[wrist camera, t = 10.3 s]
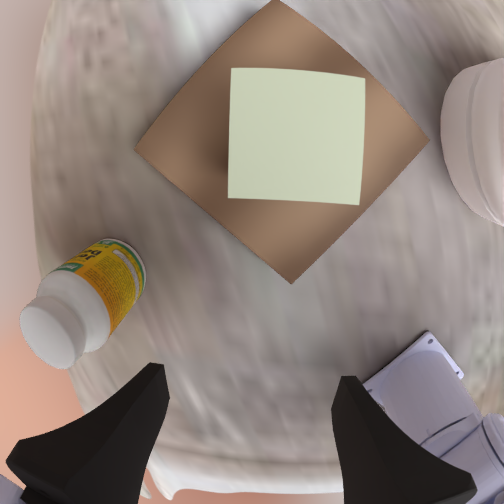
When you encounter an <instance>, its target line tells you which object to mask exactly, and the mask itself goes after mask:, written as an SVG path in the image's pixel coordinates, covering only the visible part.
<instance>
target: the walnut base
mask: <svg viewBox="0 0 504 504" xmlns="http://www.w3.org/2000/svg"><path fill="white" fill-rule="evenodd" d="M231 68H274V69H292V70H305V71H315V72H325V73H333V74H340V75H347V76H354V77H360V78H365V129H364V151H363V166H362V180H361V191H360V202H359V205H350V204H337V203H323V202H308V201H290V200H269V199H243V198H228V161H229V119H230V88H231ZM429 141H430V140H429V139H428V137H427V136H426V135H425V133H424V132H423V131H422V130H421V128H420V127H419V126H418V125H417V124H416V122H415V121H414V120H413V119H412V118H411V116H410V115H409V114H408V113H407V112H406V111H405V109H404V108H403V107H402V106H401V105H400V104H399V103H398V102H397V101H396V99H395V98H394V97H393V96H392V95H391V94H390V93H389V92H388V91H387V90H386V89H385V88H384V87H383V86H382V85H381V84H380V83H379V82H378V81H377V80H376V79H375V78H374V77H373V76H372V75H371V74H370V73H369V72H368V71H367V70H366V69H365V68H364V67H363V66H362V65H361V64H360V63H359V62H358V61H357V60H356V59H354V58H353V57H352V56H351V55H350V54H349V53H348V52H347V51H345V50H344V49H343V48H342V47H341V46H340V45H339V44H337V43H336V42H335V41H334V40H333V39H331V38H330V37H329V36H328V35H326V34H325V33H324V32H323V31H321V30H320V29H319V28H318V27H316V26H315V25H314V24H312V23H311V22H310V21H308V20H307V19H306V18H304V17H303V16H302V15H300V14H299V13H297V12H296V11H294V10H293V9H292V8H290V7H289V6H287V5H286V4H284V3H283V2H281V1H280V0H271V1H270V2H269V3H268V4H266V5H265V6H264V7H263V8H262V9H260V10H259V11H258V12H257V13H256V14H255V15H253V16H252V17H251V18H250V19H249V20H248V21H247V22H246V23H244V24H243V25H242V26H241V27H240V28H239V29H238V30H237V31H236V32H235V33H234V34H233V35H232V36H231V37H230V38H228V39H227V40H226V41H225V42H224V43H223V44H222V45H221V46H220V47H219V48H218V49H217V50H216V51H215V52H214V53H213V54H212V55H211V56H210V57H209V59H208V60H207V61H206V62H205V63H204V64H203V65H202V66H201V67H200V68H199V69H198V70H197V71H196V72H195V74H194V75H193V76H192V77H191V78H190V79H189V80H188V81H187V82H186V84H185V85H184V86H183V87H182V88H181V89H180V91H179V92H178V93H177V94H176V95H175V96H174V98H173V99H172V100H171V101H170V102H169V104H168V105H167V106H166V107H165V109H164V110H163V111H162V112H161V114H160V115H159V116H158V117H157V119H156V120H155V121H154V123H153V124H152V125H151V126H150V128H149V129H148V130H147V132H146V133H145V134H144V136H143V137H142V138H141V140H140V141H139V143H138V144H137V145H136V147H135V148H134V151H136V152H137V153H138V154H139V155H140V156H142V157H143V158H144V159H145V160H146V161H147V162H149V163H150V164H151V165H152V166H153V167H154V168H156V169H157V170H158V171H159V172H160V173H161V174H163V175H164V176H165V177H166V178H167V179H168V180H170V181H171V182H172V183H173V184H174V185H175V186H177V187H178V188H179V189H180V190H181V191H182V192H184V193H185V194H186V195H187V196H188V197H190V198H191V199H192V200H193V201H194V202H195V203H197V204H198V205H199V206H200V207H201V208H202V209H204V210H205V211H206V212H207V213H208V214H209V215H211V216H212V217H213V218H214V219H215V220H216V221H218V222H219V223H220V224H221V225H222V226H223V227H225V228H226V229H227V230H228V231H229V232H230V233H232V234H233V235H234V236H235V237H236V238H237V239H239V240H240V241H241V242H242V243H243V244H245V245H246V246H247V247H248V248H249V249H250V250H252V251H253V252H254V253H255V254H256V255H257V256H259V257H260V258H261V259H262V260H263V261H264V262H266V263H267V264H268V265H269V266H270V267H271V268H273V269H274V270H275V271H276V272H277V273H278V274H280V275H281V276H282V277H283V278H284V279H285V280H287V281H288V282H289V283H290V284H292V283H293V282H294V281H295V280H296V279H297V278H298V277H300V276H301V275H302V274H303V273H304V272H305V271H306V270H307V269H308V268H309V267H310V266H311V265H312V264H313V263H314V262H315V261H316V260H317V259H318V258H319V257H320V256H321V255H322V254H323V253H324V252H325V251H326V250H327V249H328V248H329V247H330V246H331V245H332V244H333V243H334V242H335V241H336V240H337V239H338V238H339V237H340V236H341V235H342V234H343V233H344V232H345V231H346V230H347V229H348V228H349V227H350V226H351V225H352V224H353V223H354V222H355V221H356V220H357V219H358V218H359V217H360V216H361V215H362V214H363V213H364V212H365V210H366V209H367V208H368V207H369V206H370V205H371V204H372V203H373V202H374V201H375V200H376V199H377V198H378V197H379V196H380V195H381V194H382V193H383V191H384V190H385V189H386V188H387V187H388V186H389V185H390V184H391V183H392V182H393V181H394V180H395V179H396V177H397V176H398V175H399V174H400V173H401V172H402V171H403V170H404V169H405V168H406V167H407V165H408V164H409V163H410V162H411V161H412V160H413V159H414V158H415V157H416V155H417V154H418V153H419V152H420V151H421V150H422V149H423V148H424V146H425V145H426V144H427V143H428V142H429Z"/></svg>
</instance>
